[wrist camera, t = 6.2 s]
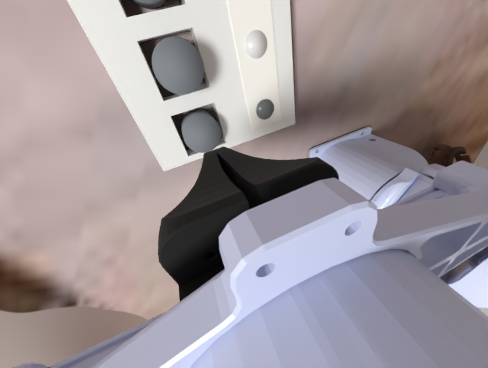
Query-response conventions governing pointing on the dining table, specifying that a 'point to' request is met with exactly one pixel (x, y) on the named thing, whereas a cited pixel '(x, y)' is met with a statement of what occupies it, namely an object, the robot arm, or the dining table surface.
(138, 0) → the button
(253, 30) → the button board
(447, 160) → the pottery mug
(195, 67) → the middle button
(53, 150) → the dining table surface
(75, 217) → the dining table surface
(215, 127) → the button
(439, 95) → the dining table surface
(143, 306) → the dining table surface
